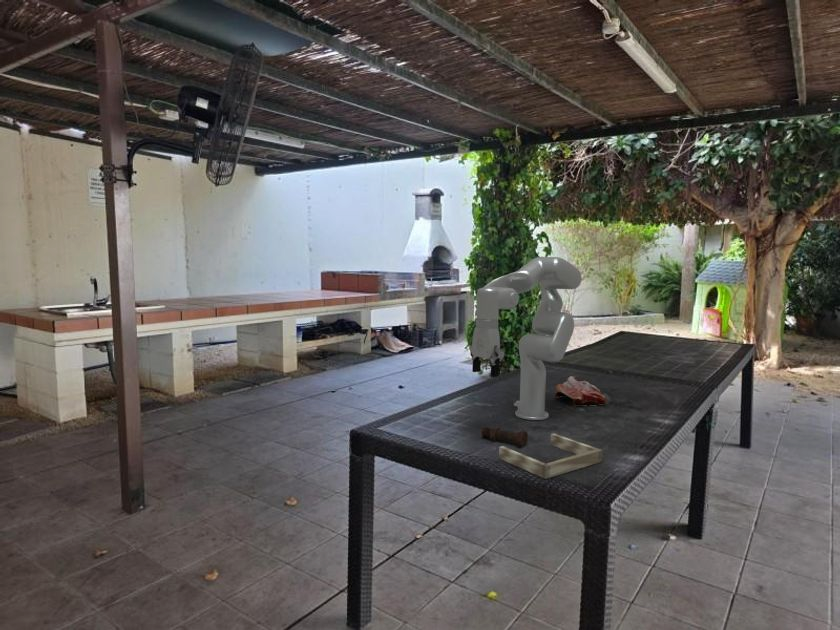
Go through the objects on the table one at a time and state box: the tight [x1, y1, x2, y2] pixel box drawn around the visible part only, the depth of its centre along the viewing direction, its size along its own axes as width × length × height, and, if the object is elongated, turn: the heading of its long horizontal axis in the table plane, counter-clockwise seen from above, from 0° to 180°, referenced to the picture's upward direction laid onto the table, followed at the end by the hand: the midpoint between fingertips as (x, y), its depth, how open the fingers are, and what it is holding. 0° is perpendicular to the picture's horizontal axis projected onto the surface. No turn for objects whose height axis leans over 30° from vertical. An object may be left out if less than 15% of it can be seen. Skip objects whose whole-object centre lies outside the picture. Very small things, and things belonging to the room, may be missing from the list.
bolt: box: [481, 425, 529, 448], centre depth 175 cm, size 6×5×15 cm
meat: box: [554, 375, 607, 407], centre depth 229 cm, size 21×21×10 cm
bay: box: [498, 433, 603, 480], centre depth 159 cm, size 18×24×4 cm
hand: (485, 374), depth 183 cm, fingers open, 9 cm apart
